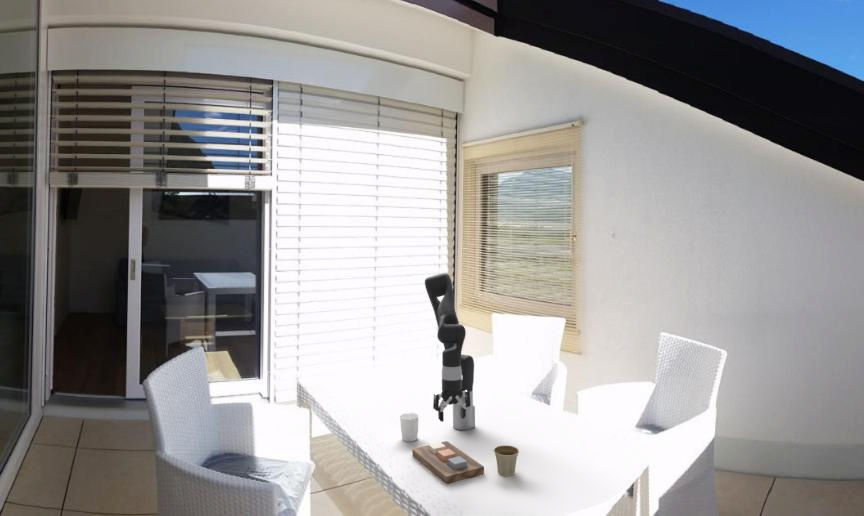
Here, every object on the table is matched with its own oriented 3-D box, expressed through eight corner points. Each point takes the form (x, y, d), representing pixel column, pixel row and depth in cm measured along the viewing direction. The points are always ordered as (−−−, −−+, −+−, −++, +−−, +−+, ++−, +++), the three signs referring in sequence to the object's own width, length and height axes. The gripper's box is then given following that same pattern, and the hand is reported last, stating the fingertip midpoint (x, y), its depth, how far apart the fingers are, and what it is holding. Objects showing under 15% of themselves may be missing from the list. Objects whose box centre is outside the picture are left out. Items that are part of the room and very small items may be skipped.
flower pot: (516, 466, 214) (516, 444, 214) (521, 478, 205) (521, 455, 204) (492, 467, 214) (491, 445, 213) (495, 479, 205) (495, 456, 204)
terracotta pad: (449, 456, 220) (449, 448, 220) (455, 461, 216) (455, 453, 216) (437, 458, 218) (437, 451, 218) (444, 464, 213) (444, 456, 213)
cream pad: (439, 448, 227) (439, 441, 227) (445, 453, 223) (445, 446, 223) (428, 451, 225) (428, 444, 225) (434, 456, 220) (434, 448, 220)
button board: (447, 447, 233) (447, 440, 233) (484, 474, 208) (484, 466, 208) (412, 456, 226) (412, 448, 225) (446, 484, 201) (446, 476, 201)
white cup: (403, 443, 239) (402, 420, 238) (399, 436, 247) (398, 414, 246) (420, 440, 241) (420, 418, 241) (416, 434, 249) (416, 412, 248)
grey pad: (459, 463, 213) (459, 456, 213) (466, 469, 209) (466, 461, 209) (447, 466, 211) (447, 459, 211) (454, 472, 206) (454, 464, 206)
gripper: (464, 373, 218) (465, 414, 218) (430, 376, 213) (430, 418, 213) (473, 377, 211) (473, 420, 211) (437, 381, 206) (438, 425, 206)
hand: (452, 419), depth 212 cm, fingers open, 8 cm apart
